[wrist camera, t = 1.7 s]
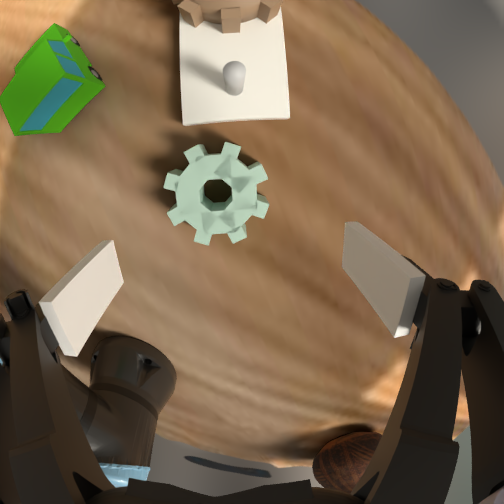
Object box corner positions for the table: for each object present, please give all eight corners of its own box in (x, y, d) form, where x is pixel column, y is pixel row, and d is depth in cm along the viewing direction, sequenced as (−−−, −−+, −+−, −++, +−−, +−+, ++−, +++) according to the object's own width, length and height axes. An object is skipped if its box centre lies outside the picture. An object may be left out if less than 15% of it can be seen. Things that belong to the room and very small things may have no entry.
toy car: (77, 24, 19) (37, 2, 10) (116, 82, 24) (73, 64, 15) (28, 76, 21) (-18, 71, 11) (60, 137, 25) (9, 143, 16)
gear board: (180, 126, 27) (157, 121, 18) (178, -26, 18) (164, -63, 10) (292, 119, 27) (315, 110, 19) (277, -32, 18) (289, -71, 10)
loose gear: (179, 235, 32) (172, 248, 28) (168, 148, 28) (159, 149, 24) (266, 228, 32) (270, 240, 28) (262, 139, 28) (266, 139, 24)
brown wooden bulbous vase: (295, 460, 59) (310, 545, 32) (329, 425, 51) (359, 533, 24) (357, 453, 62) (379, 526, 35) (396, 418, 55) (432, 502, 27)
